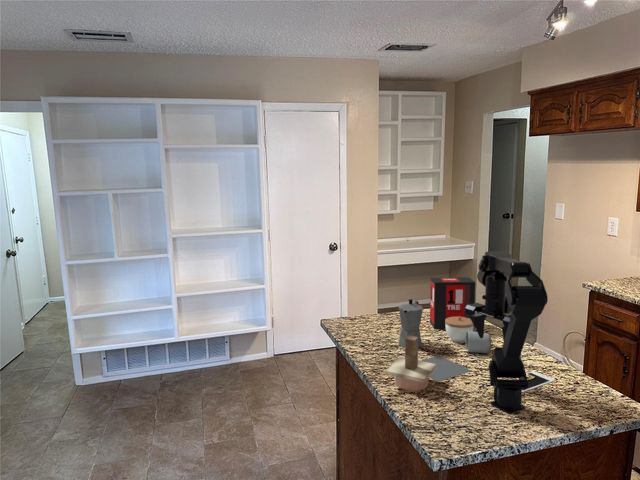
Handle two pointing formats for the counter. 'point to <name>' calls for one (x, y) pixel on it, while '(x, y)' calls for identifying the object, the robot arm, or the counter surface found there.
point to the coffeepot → (410, 321)
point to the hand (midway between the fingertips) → (493, 342)
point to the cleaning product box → (449, 299)
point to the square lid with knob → (411, 363)
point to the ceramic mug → (478, 342)
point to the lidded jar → (458, 328)
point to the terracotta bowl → (410, 384)
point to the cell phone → (537, 381)
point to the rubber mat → (445, 368)
